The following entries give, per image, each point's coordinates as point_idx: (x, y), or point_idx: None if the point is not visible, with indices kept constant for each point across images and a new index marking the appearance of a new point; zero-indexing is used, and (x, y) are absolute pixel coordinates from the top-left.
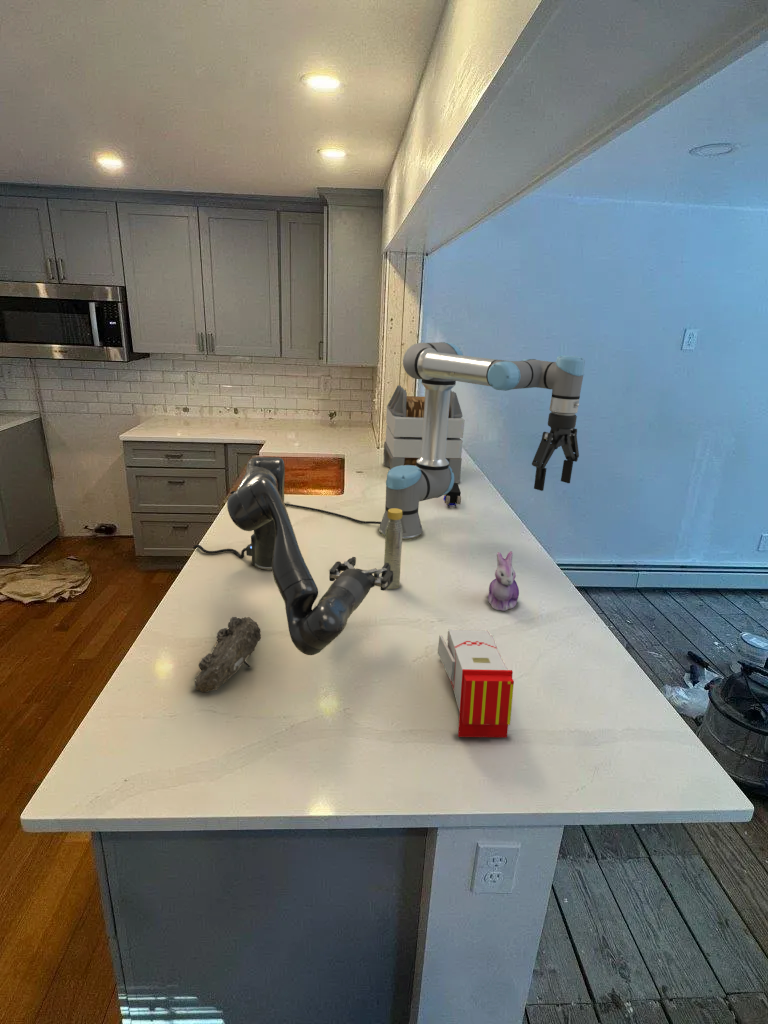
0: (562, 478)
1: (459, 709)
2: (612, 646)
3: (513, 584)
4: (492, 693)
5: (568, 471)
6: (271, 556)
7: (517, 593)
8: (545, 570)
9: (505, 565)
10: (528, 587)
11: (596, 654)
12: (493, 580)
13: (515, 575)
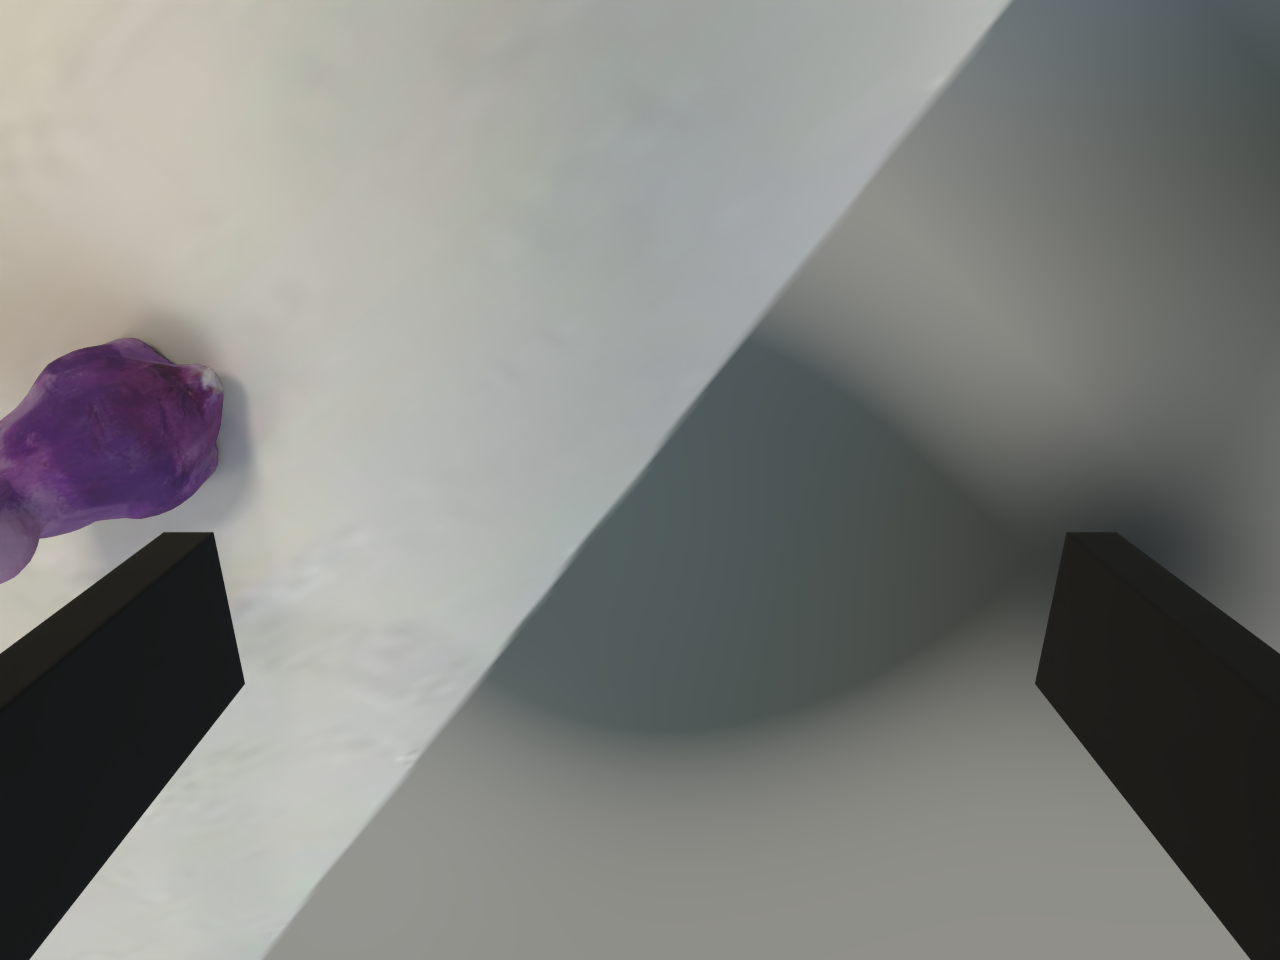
0: (1092, 591)
1: None
2: (322, 870)
3: (83, 522)
4: None
5: (1180, 815)
6: None
7: (146, 517)
8: (699, 323)
9: None
10: (418, 399)
11: (221, 863)
12: (44, 385)
13: (4, 580)
